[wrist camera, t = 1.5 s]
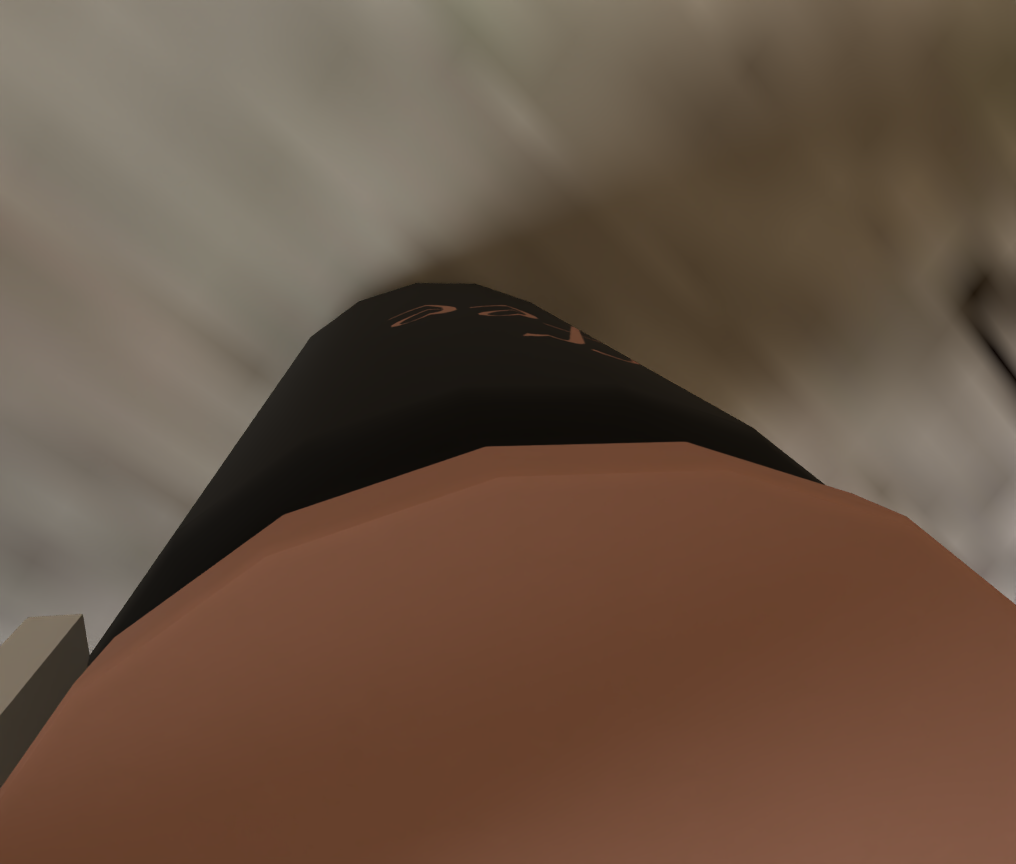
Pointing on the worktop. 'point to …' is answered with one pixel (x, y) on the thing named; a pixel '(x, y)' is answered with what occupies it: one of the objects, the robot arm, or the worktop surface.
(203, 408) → the worktop surface
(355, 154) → the worktop surface
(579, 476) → the coffee jar
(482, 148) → the worktop surface
